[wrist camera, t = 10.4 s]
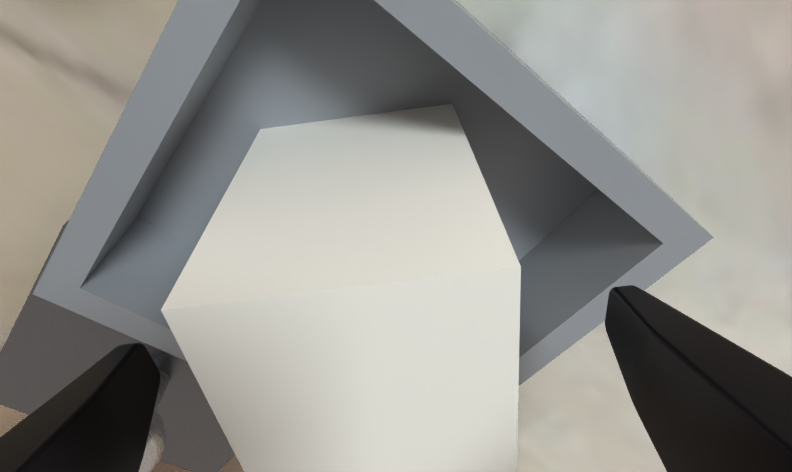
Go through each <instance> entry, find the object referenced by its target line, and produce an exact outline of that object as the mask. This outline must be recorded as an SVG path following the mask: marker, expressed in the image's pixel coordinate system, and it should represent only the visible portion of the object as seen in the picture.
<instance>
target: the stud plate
mask: <svg viewBox="0 0 792 472" xmlns="http://www.w3.org/2000/svg"><path fill="white" fill-rule="evenodd" d="M68 222H69V220H68V221H67V222H66V223H65V224H64V225H63V227H62V229H61V231H60V233H59V235H58V238H57V240H56V242H55V244H54V246H53V248H52V250H51V252H50V254H49V256H48V258H47V260H46V262H45V264H44V266H43V268H42V270H41V272H40V274H39V276H38V278H37V280H36V282H35V284H34V286H33V288H32V290H31V292H30V294H29V296H28V298H27V300H26V302H25V304H24V306H23V308H22V310H21V312H20V315H19V317H18V319H17V321H16V323H15V325H14V327H13V329H12V331H11V333H10V335H9V337H8V339H7V341H6V343H5V345H4V347H3V349H2V351H1V353H0V404H1V405H3V406H6V407H9V408H12V409H15V410H18V411H20V412H23V413H26V414H29V415H30V414H31V413H32V412H34V411H35V410H36V409H37V408H39V407H40V406H41V405H43V404H44V403H45V402H46V401H48V400H49V399H50V398H52V397H53V396H54V395H55V394H57V393H58V392H59V391H60V390H62V389H63V388H64V387H66V386H67V385H68V384H69V383H71V382H72V381H73V380H75V379H76V378H77V377H78V376H80V375H81V374H82V373H84V372H85V371H86V370H87V369H89V368H90V367H91V366H93V365H94V364H95V363H96V362H98V361H99V360H100V359H102V358H103V357H104V356H105V355H107V354H108V353H109V352H110V351H112V350H113V349H114V348H116V347H117V346H119V345H122V344H128V343H137V342H138V343H142V344H143V345H145V346H146V348H147V350H148V351H149V353H150V355H151V357H152V359H153V360H154V362H155V364H156V366H157V367H158V369H159V372H160V386H159V390H158V395H157V399H156V404H155V408H154V413H153V417H152V422H151V426H150V431H149V435H148V440H147V444H146V448H145V452H144V456H143V459H142V462H141V466H140V469H139V472H151V471H152V470H153V469H154V468H155V466H156V465H157V463H158V462H159V460H160V461H163V462H166V463H169V464H172V465H174V466H177V467H180V468H183V469H186V470H189V471H192V472H218V471H219V470H220V469H221V468H222V467H223V466H224V465H225V463H226V462H227V461H228V460H229V459H230V458H231V457H232V456H233V455H234V454H235V453H234V451H233V449H232V447H231V445H230V444H229V442H228V440H227V438H226V436H225V434H224V432H223V430H222V428H221V426H220V424H219V422H218V420H217V418H216V416H215V414H214V412H213V410H212V409H211V407H210V405H209V403H208V401H207V399H206V397H205V395H204V393H203V391H202V389H201V387H200V385H199V383H198V381H197V379H196V377H195V376H194V374H193V372H192V370H191V368H190V366H189V364H188V362H187V361H185V360H183V359H180V358H178V357H176V356H173V355H171V354H169V353H167V352H164V351H162V350H160V349H157V348H155V347H153V346H151V345H148V344H146V343H144V342H141V341H139V340H137V339H134V338H132V337H130V336H128V335H125V334H123V333H121V332H118V331H116V330H114V329H112V328H109V327H107V326H105V325H102V324H100V323H98V322H95V321H93V320H91V319H89V318H86V317H84V316H82V315H79V314H77V313H75V312H72V311H70V310H68V309H66V308H63V307H61V306H59V305H56V304H54V303H52V302H50V301H47V300H45V299H43V298H40V297H38V296H36V295H33V292H34V290H35V288H36V286H37V284H38V282H39V280H40V278H41V276H42V274H43V272H44V270H45V268H46V266H47V264H48V262H49V260H50V258H51V256H52V254H53V252H54V250H55V248H56V246H57V244H58V242H59V240H60V238H61V236H62V234H63V232H64V230H65V228H66V226H67V224H68Z"/></svg>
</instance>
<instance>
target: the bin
mask: <svg viewBox="0 0 792 472" xmlns="http://www.w3.org/2000/svg"><path fill="white" fill-rule="evenodd" d="M445 104H453V107H454V109H455V111H456V114H457V116H458V118H459V121H460V123H461V126H462V128H463V130H464V133H465V135H466V137H467V140H468V142H469V145H470V147H471V149H472V152H473V154H474V156H475V159H476V161H477V164H478V166H479V168H480V171H481V173H482V175H483V178H484V180H485V183H486V185H487V187H488V190H489V192H490V194H491V197H492V199H493V202H494V204H495V206H496V209H497V211H498V213H499V216H500V218H501V221H502V223H503V225H504V228H505V230H506V232H507V235H508V237H509V240H510V242H511V244H512V247H513V249H514V251H515V254H516V256H517V259H518V261H519V263H520V266H521V289H520V338H519V385H520V384H522V383H523V382H524V381H526V380H527V379H528V378H530V377H531V376H532V375H534V374H535V373H536V372H537V371H539V370H540V369H541V368H543V367H544V366H545V365H547V364H548V363H549V362H551V361H552V360H553V359H555V358H556V357H557V356H559V355H560V354H561V353H562V352H564V351H565V350H566V349H568V348H569V347H570V346H572V345H573V344H574V343H576V342H577V341H578V340H580V339H581V338H582V337H583V336H585V335H586V334H587V333H589V332H590V331H591V330H593V329H594V328H595V327H597V326H598V325H599V324H601V323H602V322H603V321H604V320H605V316H606V310H607V303H608V296H609V292H610V290H611V289H612V288H614V287H619V286H628V285H634V286H636V287H638V288H640V289H642V290H645V289H647V288H648V287H649V286H650V285H652V284H653V283H654V282H656V281H657V280H658V279H660V278H661V277H662V276H664V275H665V274H666V273H668V272H669V271H670V270H671V269H673V268H674V267H675V266H677V265H678V264H679V263H681V262H682V261H683V260H685V259H686V258H687V257H689V256H690V255H691V254H693V253H694V252H695V251H696V250H698V249H699V248H700V247H702V246H703V245H704V244H706V243H707V242H708V241H710V240H711V239H712V238H714V237H712V236H711V235H710V234H709V233H708V232H707V231H706V230H705V229H704V228H703V227H702V226H701V225H700V224H699V223H698V222H696V221H695V220H694V219H693V218H692V217H691V216H690V215H689V214H688V213H687V212H686V211H685V210H684V209H683V208H682V207H680V206H679V205H678V204H677V203H676V202H675V201H674V200H673V199H672V198H671V197H670V196H669V195H668V194H667V193H666V192H664V191H663V190H662V189H661V188H660V187H659V186H658V185H657V184H656V183H655V182H654V181H653V180H652V179H651V178H650V177H648V176H647V175H646V174H645V173H644V172H643V171H642V170H641V169H640V168H639V167H638V166H637V165H636V164H635V163H633V162H632V161H631V160H630V159H629V158H628V157H627V156H626V155H625V154H624V153H622V152H621V151H620V150H619V149H618V148H617V147H616V146H615V145H614V144H613V143H611V142H610V141H609V140H608V139H607V138H606V137H605V136H604V135H603V134H602V133H600V132H599V131H598V130H597V129H596V128H595V127H594V126H593V125H592V124H591V123H589V122H588V121H587V120H586V119H585V118H584V117H583V116H582V115H581V114H580V113H578V112H577V111H576V110H575V109H574V108H573V107H572V106H571V105H570V104H569V103H567V102H566V101H565V100H564V99H563V98H562V97H561V96H560V95H559V94H558V93H556V92H555V91H554V90H553V89H552V88H551V87H550V86H549V85H548V84H546V83H545V82H544V81H543V80H542V79H541V78H540V77H539V76H538V75H537V74H535V73H534V72H533V71H532V70H531V69H530V68H529V67H528V66H527V65H526V64H524V63H523V62H522V61H521V60H520V59H519V58H518V57H517V56H516V55H515V54H513V53H512V52H511V51H510V50H509V49H508V48H507V47H506V46H505V45H504V44H502V43H501V42H500V41H499V40H498V39H497V38H496V37H495V36H494V35H493V34H491V33H490V32H489V31H488V30H487V29H486V28H485V27H484V26H483V25H482V24H480V23H479V22H478V21H477V20H476V19H475V18H474V17H473V16H472V15H471V14H469V13H468V12H467V11H466V10H465V9H464V8H463V7H462V6H461V5H460V4H458V3H457V2H456V1H455V0H178V2H177V4H176V6H175V9H174V11H173V13H172V15H171V17H170V19H169V21H168V23H167V25H166V27H165V29H164V31H163V33H162V35H161V37H160V39H159V41H158V43H157V45H156V47H155V49H154V51H153V53H152V55H151V57H150V59H149V61H148V63H147V65H146V67H145V69H144V71H143V73H142V75H141V77H140V79H139V81H138V83H137V85H136V87H135V89H134V91H133V93H132V95H131V97H130V99H129V101H128V103H127V105H126V107H125V109H124V111H123V113H122V115H121V117H120V119H119V121H118V123H117V125H116V127H115V129H114V131H113V133H112V135H111V137H110V139H109V141H108V143H107V145H106V147H105V149H104V151H103V153H102V155H101V157H100V159H99V161H98V163H97V165H96V167H95V169H94V171H93V173H92V175H91V177H90V179H89V181H88V183H87V185H86V187H85V189H84V191H83V193H82V195H81V197H80V199H79V201H78V204H77V206H76V208H75V210H74V212H73V214H72V216H71V218H70V220H69V222H68V224H67V226H66V228H65V230H64V232H63V234H62V236H61V238H60V240H59V242H58V244H57V246H56V248H55V250H54V252H53V254H52V256H51V258H50V260H49V262H48V264H47V266H46V268H45V270H44V272H43V274H42V276H41V278H40V280H39V282H38V284H37V286H36V288H35V290H34V292H33V295H36V296H38V297H40V298H43V299H45V300H47V301H50V302H52V303H54V304H56V305H59V306H61V307H63V308H66V309H68V310H70V311H72V312H75V313H77V314H79V315H82V316H84V317H86V318H89V319H91V320H93V321H95V322H98V323H100V324H102V325H105V326H107V327H109V328H112V329H114V330H116V331H118V332H121V333H123V334H125V335H128V336H130V337H132V338H134V339H137V340H139V341H141V342H144V343H146V344H148V345H151V346H153V347H155V348H157V349H160V350H162V351H164V352H167V353H169V354H171V355H173V356H176V357H178V358H180V359H183V360H185V361H187V360H186V358H185V356H184V354H183V352H182V350H181V348H180V346H179V344H178V342H177V341H176V339H175V337H174V335H173V333H172V331H171V329H170V327H169V325H168V323H167V321H166V319H165V317H164V315H163V313H162V311H161V309H162V307H163V305H164V303H165V302H166V300H167V298H168V296H169V294H170V292H171V291H172V289H173V287H174V285H175V283H176V282H177V280H178V278H179V276H180V274H181V272H182V271H183V269H184V267H185V265H186V263H187V262H188V260H189V258H190V256H191V254H192V252H193V251H194V249H195V247H196V245H197V243H198V242H199V240H200V238H201V236H202V234H203V232H204V231H205V229H206V227H207V225H208V223H209V222H210V220H211V218H212V216H213V214H214V212H215V211H216V209H217V207H218V205H219V203H220V202H221V200H222V198H223V196H224V194H225V192H226V191H227V189H228V187H229V185H230V183H231V182H232V180H233V178H234V176H235V174H236V172H237V171H238V169H239V167H240V165H241V163H242V162H243V160H244V158H245V156H246V154H247V152H248V151H249V149H250V147H251V145H252V143H253V142H254V140H255V138H256V136H257V134H258V133H259V131H260V129H265V128H273V127H280V126H288V125H295V124H303V123H310V122H318V121H325V120H333V119H340V118H348V117H355V116H363V115H370V114H378V113H385V112H393V111H400V110H408V109H415V108H423V107H430V106H438V105H445Z"/></svg>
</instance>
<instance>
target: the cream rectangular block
mask: <svg viewBox="0 0 792 472" xmlns="http://www.w3.org/2000/svg"><path fill="white" fill-rule="evenodd" d="M520 289H521V266H520V263H519V261H518V259H517V256H516V254H515V251H514V249H513V247H512V244H511V242H510V240H509V237H508V235H507V232H506V230H505V228H504V225H503V223H502V221H501V218H500V216H499V213H498V211H497V209H496V206H495V204H494V202H493V199H492V197H491V194H490V192H489V190H488V187H487V185H486V183H485V180H484V178H483V175H482V173H481V171H480V168H479V166H478V164H477V161H476V159H475V156H474V154H473V152H472V149H471V147H470V145H469V142H468V140H467V137H466V135H465V133H464V130H463V128H462V126H461V123H460V121H459V118H458V116H457V114H456V111H455V109H454V107H453V104H445V105H438V106H430V107H423V108H415V109H408V110H400V111H393V112H385V113H378V114H370V115H363V116H355V117H348V118H340V119H333V120H325V121H318V122H310V123H303V124H295V125H288V126H280V127H273V128H265V129H260V131H259V133H258V134H257V136H256V138H255V140H254V142H253V143H252V145H251V147H250V149H249V151H248V152H247V154H246V156H245V158H244V160H243V162H242V163H241V165H240V167H239V169H238V171H237V172H236V174H235V176H234V178H233V180H232V182H231V183H230V185H229V187H228V189H227V191H226V192H225V194H224V196H223V198H222V200H221V202H220V203H219V205H218V207H217V209H216V211H215V212H214V214H213V216H212V218H211V220H210V222H209V223H208V225H207V227H206V229H205V231H204V232H203V234H202V236H201V238H200V240H199V242H198V243H197V245H196V247H195V249H194V251H193V252H192V254H191V256H190V258H189V260H188V262H187V263H186V265H185V267H184V269H183V271H182V272H181V274H180V276H179V278H178V280H177V282H176V283H175V285H174V287H173V289H172V291H171V292H170V294H169V296H168V298H167V300H166V302H165V303H164V305H163V307H162V309H161V311H162V313H163V315H164V317H165V319H166V321H167V323H168V325H169V327H170V329H171V331H172V333H173V335H174V337H175V339H176V341H177V342H178V344H179V346H180V348H181V350H182V352H183V354H184V356H185V358H186V360H187V362H188V364H189V366H190V368H191V370H192V372H193V374H194V376H195V377H196V379H197V381H198V383H199V385H200V387H201V389H202V391H203V393H204V395H205V397H206V399H207V401H208V403H209V405H210V407H211V409H212V410H213V412H214V414H215V416H216V418H217V420H218V422H219V424H220V426H221V428H222V430H223V432H224V434H225V436H226V438H227V440H228V442H229V444H230V445H231V447H232V449H233V451H234V453H235V455H236V457H237V459H238V461H239V463H240V465H241V467H242V469H243V471H244V472H517V436H518V387H519V338H520Z"/></svg>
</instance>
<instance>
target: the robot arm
mask: <svg viewBox="0 0 792 472" xmlns="http://www.w3.org/2000/svg"><path fill="white" fill-rule="evenodd" d="M605 327H606V331H607V334H608V337H609V340H610V342H611V345H612V348H613V351H614V353H615V356H616V359H617V361H618V364H619V367H620V370H621V372H622V375H623V378H624V380H625V383H626V386H627V389H628V391H629V394H630V396H631V399H632V402H633V404H634V406H635V408H636V410H637V413H638V415H639V417H640V419H641V421H642V423H643V425H644V427H645V429H646V431H647V433H648V435H649V437H650V439H651V441H652V443H653V445H654V447H655V449H656V451H657V453H658V455H659V457H660V458H661V460H662V462H663V464H664V466H665V468H666V470H667V472H792V377H791V376H790V375H788V374H786V373H784V372H783V371H781V370H779V369H777V368H776V367H774V366H772V365H771V364H769V363H767V362H765V361H764V360H762V359H760V358H759V357H757V356H755V355H753V354H752V353H750V352H748V351H747V350H745V349H743V348H741V347H740V346H738V345H736V344H735V343H733V342H731V341H729V340H728V339H726V338H724V337H723V336H721V335H719V334H717V333H716V332H714V331H712V330H711V329H709V328H707V327H705V326H704V325H702V324H700V323H699V322H697V321H695V320H693V319H692V318H690V317H688V316H686V315H685V314H683V313H681V312H680V311H678V310H676V309H674V308H673V307H671V306H669V305H668V304H666V303H664V302H662V301H661V300H659V299H657V298H656V297H654V296H652V295H650V294H649V293H647V292H645V291H644V290H642V289H640V288H638V287H636V286H634V285H628V286H619V287H614V288H612V289H611V290H610V292H609V296H608V303H607V310H606V316H605ZM159 386H160V372H159V369H158V367H157V366H156V364H155V362H154V360H153V359H152V357H151V355H150V353H149V351H148V350H147V348H146V346H145V345H143V344H142V343H138V342H137V343H128V344H122V345H119V346H117V347H116V348H114V349H113V350H112V351H110V352H109V353H108V354H107V355H105V356H104V357H103V358H102V359H100V360H99V361H98V362H96V363H95V364H94V365H93V366H91V367H90V368H89V369H87V370H86V371H85V372H84V373H82V374H81V375H80V376H78V377H77V378H76V379H75V380H73V381H72V382H71V383H69V384H68V385H67V386H66V387H64V388H63V389H62V390H60V391H59V392H58V393H57V394H55V395H54V396H53V397H52V398H50V399H49V400H48V401H46V402H45V403H44V404H43V405H41V406H40V407H39V408H37V409H36V410H35V411H34V412H32V413H31V414H30V415H28V416H27V417H26V418H25V419H23V420H22V421H21V422H19V423H18V424H17V425H16V426H14V427H13V428H12V429H11V430H9V431H8V432H7V433H5V434H4V435H3V436H2V437H0V472H139V469H140V466H141V462H142V459H143V456H144V452H145V448H146V444H147V440H148V435H149V431H150V426H151V422H152V417H153V413H154V408H155V404H156V399H157V395H158V390H159Z"/></svg>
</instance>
